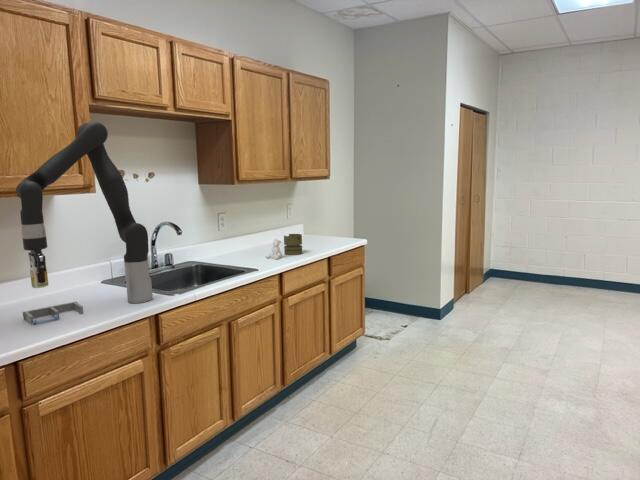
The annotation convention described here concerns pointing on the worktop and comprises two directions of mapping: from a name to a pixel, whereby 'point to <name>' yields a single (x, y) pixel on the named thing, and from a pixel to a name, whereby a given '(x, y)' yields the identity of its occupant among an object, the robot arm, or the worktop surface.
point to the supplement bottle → (35, 279)
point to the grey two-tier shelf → (51, 311)
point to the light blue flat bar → (45, 320)
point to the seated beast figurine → (275, 251)
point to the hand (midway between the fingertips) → (39, 281)
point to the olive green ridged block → (293, 244)
